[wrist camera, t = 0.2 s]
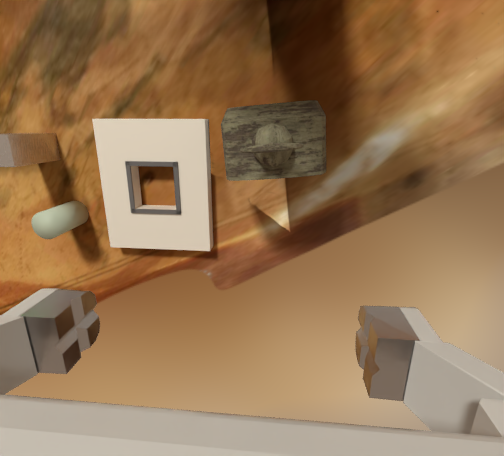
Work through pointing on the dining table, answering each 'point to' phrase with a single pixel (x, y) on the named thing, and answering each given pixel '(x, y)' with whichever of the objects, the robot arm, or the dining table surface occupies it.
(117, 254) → the dining table surface
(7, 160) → the square peg
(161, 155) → the socket board
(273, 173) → the tabletop clock
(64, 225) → the round peg
